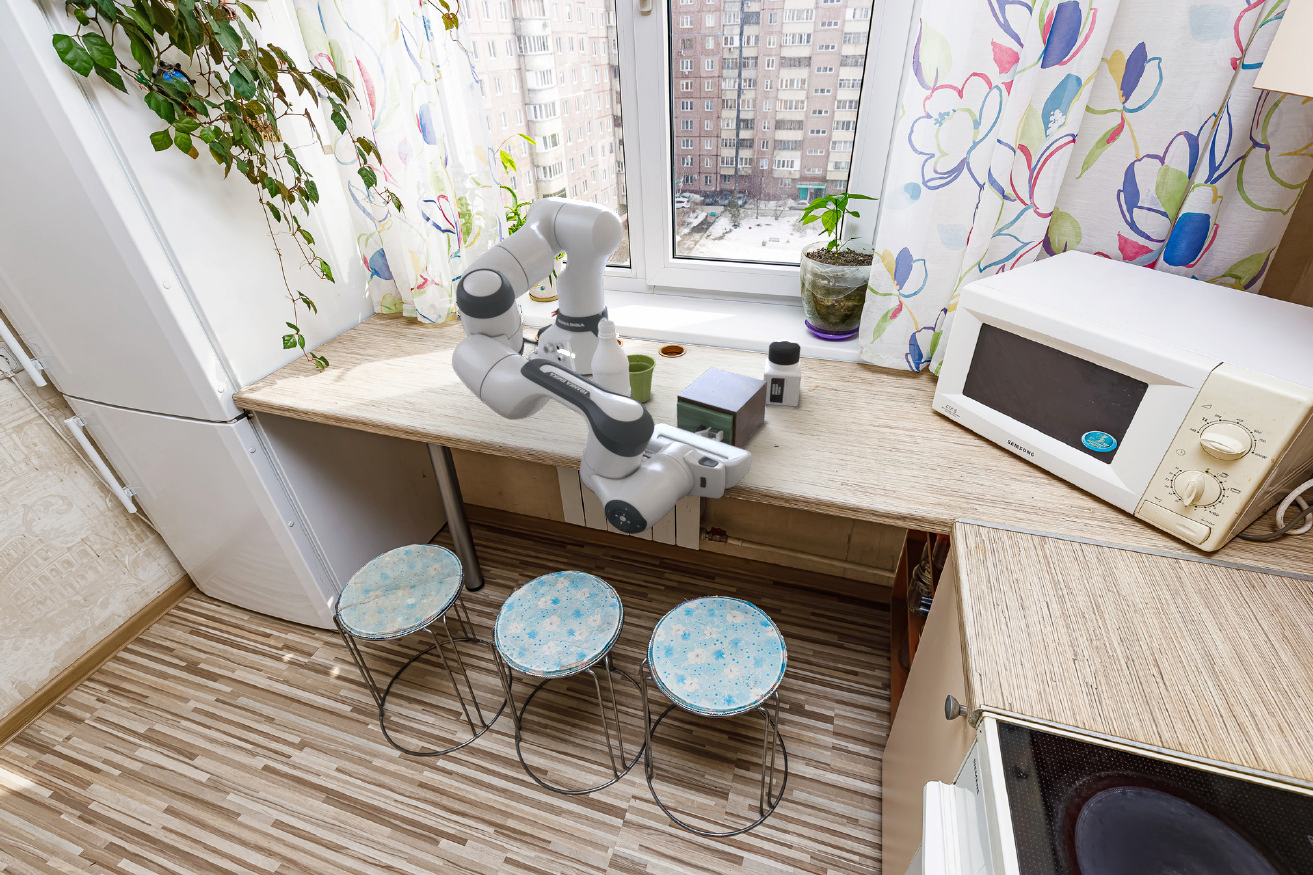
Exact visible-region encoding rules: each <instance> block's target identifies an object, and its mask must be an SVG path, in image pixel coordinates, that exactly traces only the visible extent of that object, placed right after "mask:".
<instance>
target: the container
mask: <svg viewBox="0 0 1313 875" xmlns="http://www.w3.org/2000/svg"><path fill="white" fill-rule="evenodd" d="M801 349H802V348H801V345H800V344H799V343H798V342H796V341H794V340H791V339H777V340H773V341H772V342H771V343H770V344H769V346H768V355H767V356H768V357H766V358H765V362H764V371H763V380H764V381H767V392H766V405H769V406H770V405H772V406H784V407H785V406H786V407H798V405H799V398H800V390H801V389H800V388H801V381H802V360H801V359H800V356H801Z"/></svg>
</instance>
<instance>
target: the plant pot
mask: <svg viewBox="0 0 1313 875" xmlns="http://www.w3.org/2000/svg"><path fill="white" fill-rule="evenodd" d="M626 356H627V358H628V361H629V380H630V387H631V395H630V397H631V398H633V399H635V400H637V401H639V402H640V403H641V404H643V403H646V402H648V401H649V400H650V398H651V391H652V382H653V381H652V380H653V372H654V369H655V367H656V365H657V362H656V361H657V360H655V358H653V357H652V356H650V355H647V354H640V353H635V354H633V353H631V354H626Z"/></svg>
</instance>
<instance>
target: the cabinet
mask: <svg viewBox="0 0 1313 875" xmlns="http://www.w3.org/2000/svg"><path fill="white" fill-rule="evenodd" d="M766 392H767V381H764V379H759V378H755V377H751V376H747V375H743V374H739V373H735V372H732V371H727V370H723V369H719V368H714V367H710V368H709V369H706V371H705V372H704V373H702V374H701V375H700V376H699V377H697V379H695V380H693V382H692V383H690V384H689V385H688V386H687V387H686V388H684V389H683V390H682V391H681V392H679V393H678V394H677V395H676V397H677V398H676V399H677V400H676V404H677V403H678V402H679V401H683V402H686V403H687V402H688V403H692V404H695V405H699V406H702V407H706V408H709V409H713V410H716V411H720V412H723V413H727V414H730V415H732V416H733V433H732V446H734V447H737V448H741V449H743V447H744V446H745V445H746V444H747V443H748V442H749V440H750V439H751V438H752V437H753V436H754V435H755V434H756V433H757V431H758V430H759V429H760V428H761V427H762V426H763V425H764V424H765V415H766V405H767V404H766Z"/></svg>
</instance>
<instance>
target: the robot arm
mask: <svg viewBox="0 0 1313 875" xmlns="http://www.w3.org/2000/svg"><path fill="white" fill-rule="evenodd" d="M526 212H527V213H526V216H525V217H526V218H525V223H524V224H523V225H522V226H520V228H519V229H517V230H516V231H514V232H513V233H512V234H510V235H509V236H507V237H505V238H504V239H503V240H501V241H499V242H498V243H496V244H495V245H494V246H491V248H489V249H487V250H486V251H485V252H483V253H482V254H481V255H480V256H478V257H477V258H476V259H475V260H474V261H473V262H472V263H471V264H470V265H469V266H467V268H466V269H464V271H463V272H462V274H461V276H460V280H459V282H458V284H457V285H456V290H455V291H456V292H455V299H456V306H457V308H458V309H459V310H458V311H459V314H460V316H459V317H458V318H460V321H461V325H462V329H463V332H464V334H465V336H466V337H465V338H464V339H462V340H460V342H459V343H457V345H456V347H455V348H454V350H453V353H452V355H451V365H452V369H453V371H454V373H455V375H456V376H457V377H458V378H459V380H460V381H461V382H462V384H463V385H464V386H465V387H466V388H467V389H468V390H469V391H470V392H471V393H472V394H473V395H474V396H475V397H476V398H477V399H479V401H481V402H482V403H483V404H484V405H485V406H486V407H488V408H489V409H490V410H491V411H493V412H494V413H495V414H497V415H499V416H500V417H502V418H504V419H507V420H512V421H513V420H514V421H518V420H524V419H527V418H530V417H532V416H533V415H535V414H537V413H538V412H540V411H541V410H542V409H543V408H544V407H545V406H546V405H547V404H548V403H549V401H550V400H551V399H552V400H554V401H555V402H557V403H559V404H561V405H562V406H564V407H566V408H568V409H570V410H572V411H573V412H575V413H577V414H578V415H580V416H582V417H583V419H584V420H585V422H586V426H587V430H588V431H587V432H588V433H587V436H586V440H585V444H584V448H583V452H582V456H581V459H580V465H579V470H578V472H579V477H580V480H581V482H582V484H583V485H584V486H585V487H586V488H587V490H589V491H590V492H592V493H593V494H594V495H595V496H596V497H597V498H598V499H599V501H600V503H601V505H602V508H603V513H604V517H605V518H606V519H607V521H608V522H609V523H610V524H611V525H612V527H614V528H615V529H617V530H619V531H620V532H622V533H624V534H631V535H636V534H640V533H644V532H646V531H648V530H650V529H651V528H653V527H654V526H655V525H657V524H658V523H659V522H660V521H662V520H663V519H664V518H665V517H666V516H667V515H668V514H669V513H670V512H671V511H672V510H673V509H674V508H675V506H676V504H677V502H678V501H681V500H682V499H684V498H685V497H702V498H708V499H709V498H711V499H721V498H722V497H723V496H724V493H725V490H726V489H731V488H733V487H735V486H736V485H738V484H739V483H740V482H741V481H742V480H743V479H744V478H745V477H746V476H747V475H748V474H749V473H750V471H751V470H752V464H753V462H752V461H753V457H752V453H751V452H750V451H749V450H746V449H743V448H737V447H734V446H731V445H728V444H725V443H722V442H720V441H721V440H722V439H723V435H724V432H723V431H721V430H717V429H715V428H712V427H709V428H708V429H707V430H704V431H699V432H696V433H692V432H689V431H686V430H683V429H680V428H677V426H673V425H670V424H669V423H665V422H659V423H656V424H655V422H654V421H655V420H654V419H653V417H652V415H651V413H650V411H649V410H648V409H647V407H646V406H645V405H644V404H643V403H640V402H639V401H637V400H635V399H633V398H631V397H628V396H625V395H622V394H618V393H615V392H613V391H610V390H608V389H606V388H604V387H602V386H600V385H599V384H597V383H595V382H593V380H591V379H589V378H587V377H585V376H583V375H593V373H592V369H591V362H592V358H593V355H594V353H595V351H596V349H597V347H598V344H599V337H598V334H599V333H598V332H599V326H598V324H599V322H601V321H606V320H609V313H608V312H609V311H608V307H607V305H606V296H605V270H606V267H607V263H608V261H609V259H610V257H611V256H612V255H613V254H615V253H616V252H617V250H618V249H619V247H620V246H621V244H622V241H623V238H624V237H623V236H624V226H623V222H622V219H621V217H620V216H619V215H618V213H617V212H615V211H613V210H611V209H610V208H607V207H606V206H603V205H602V204H599V203H595V202H589V201H583V200H577V199H569V198H566V197H565V198H564V197H559V196H549V197H543V198H538V199H536V200H535V201H533V202H532V203H531V204H530V205H529V208H528V209H527V211H526ZM563 253H566V264H565V267H564V269H562V270H561V271H560V272H559V273H558V274H557V276H556V278H555V287H556V294H557V303H558V307H557V308H556V310H554V311H551V312H550V314H551V318H554V317H555V316H556V317H555V322H554V323H550V324H548V325H546V326H543V327H541V328H539V329H538V331H537V333H536V336H537V341H533V340H530V339H527V338H525V337H524V332H523V323H522V316H521V313H520V310H519V307H518V304H517V301H516V300H517V299H518V298H520V297H522V296H523V295H524V294H526V293H528V291H530V290H532V289H533V288H535V287H536V286H538V284H540V283H542V281H545V279H547V278H548V277H550V276H551V275H552V273H553V272H554V270H555V259H556V257H558V256H559V255H560V254H563ZM619 336H620V335H619V333H617V337H616V338H619ZM525 343H528V344H531V345H537V349H535V350H534V351H533V352H532V353H531V354H530V357H529V359H527V358H526V357H525V356H523V355H524V353H525V352H524V351H525Z"/></svg>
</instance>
